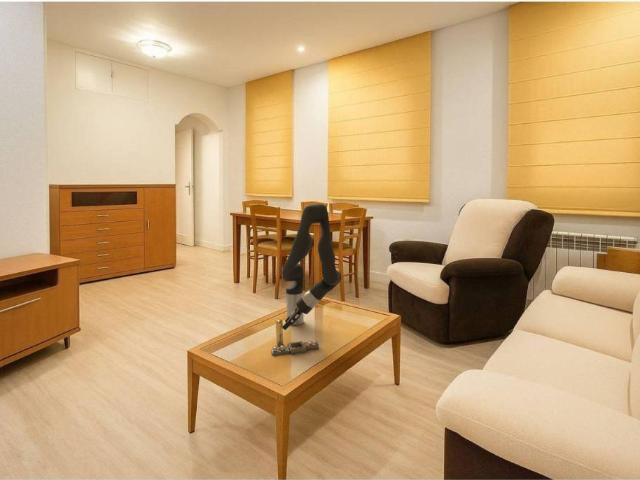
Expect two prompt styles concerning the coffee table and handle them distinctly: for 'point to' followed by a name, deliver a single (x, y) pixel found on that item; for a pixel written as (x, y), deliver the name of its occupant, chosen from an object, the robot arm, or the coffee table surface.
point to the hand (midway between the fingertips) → (284, 325)
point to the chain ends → (295, 348)
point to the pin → (279, 332)
